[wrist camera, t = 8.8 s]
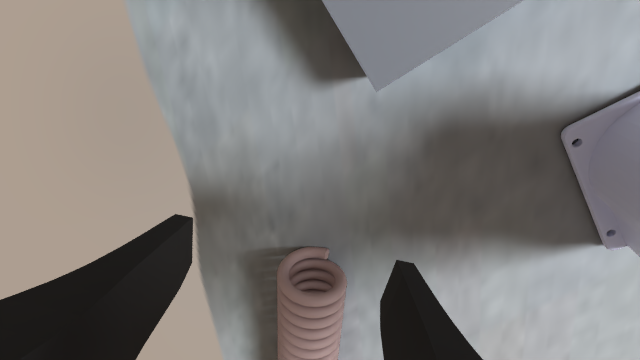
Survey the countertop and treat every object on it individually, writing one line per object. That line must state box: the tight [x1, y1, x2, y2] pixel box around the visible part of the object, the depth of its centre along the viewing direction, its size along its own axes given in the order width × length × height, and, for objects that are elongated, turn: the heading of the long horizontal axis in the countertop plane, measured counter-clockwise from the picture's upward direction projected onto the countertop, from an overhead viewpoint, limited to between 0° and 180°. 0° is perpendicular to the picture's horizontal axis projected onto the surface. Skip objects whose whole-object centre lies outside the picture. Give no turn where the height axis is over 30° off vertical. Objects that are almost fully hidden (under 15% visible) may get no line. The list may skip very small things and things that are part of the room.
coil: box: [277, 247, 347, 360], centre depth 27 cm, size 5×5×18 cm
